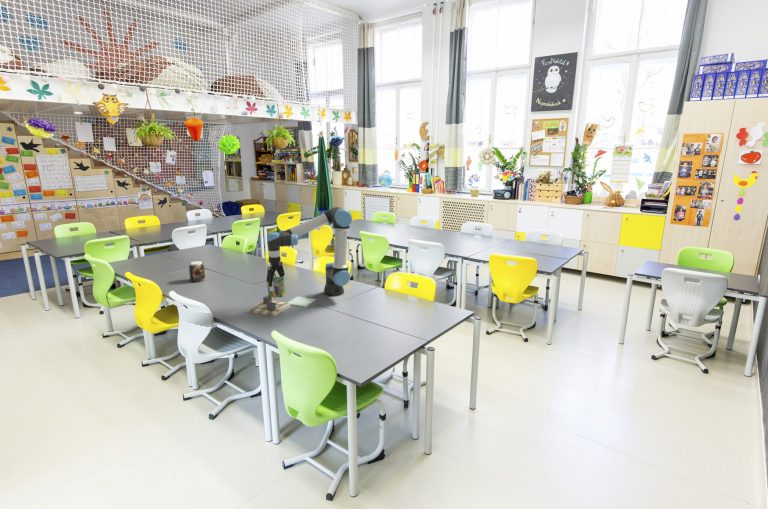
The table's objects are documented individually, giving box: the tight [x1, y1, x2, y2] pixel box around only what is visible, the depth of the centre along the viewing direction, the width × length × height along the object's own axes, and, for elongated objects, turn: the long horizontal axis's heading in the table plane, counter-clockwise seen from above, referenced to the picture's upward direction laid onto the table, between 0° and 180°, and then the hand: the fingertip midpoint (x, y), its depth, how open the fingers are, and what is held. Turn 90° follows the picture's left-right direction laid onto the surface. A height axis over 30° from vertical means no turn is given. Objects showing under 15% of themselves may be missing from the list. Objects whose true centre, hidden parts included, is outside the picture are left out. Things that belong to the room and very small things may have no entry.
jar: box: [188, 260, 206, 283], centre depth 330 cm, size 12×12×15 cm
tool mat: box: [286, 296, 317, 308], centre depth 284 cm, size 15×15×1 cm
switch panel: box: [247, 300, 292, 317], centre depth 271 cm, size 20×19×2 cm
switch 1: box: [262, 295, 273, 304], centre depth 276 cm, size 4×4×4 cm
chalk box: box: [266, 272, 286, 298], centre depth 271 cm, size 9×9×15 cm
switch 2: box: [267, 302, 276, 311], centre depth 263 cm, size 4×4×4 cm
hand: (276, 288), depth 272 cm, fingers closed on chalk box, 10 cm apart
